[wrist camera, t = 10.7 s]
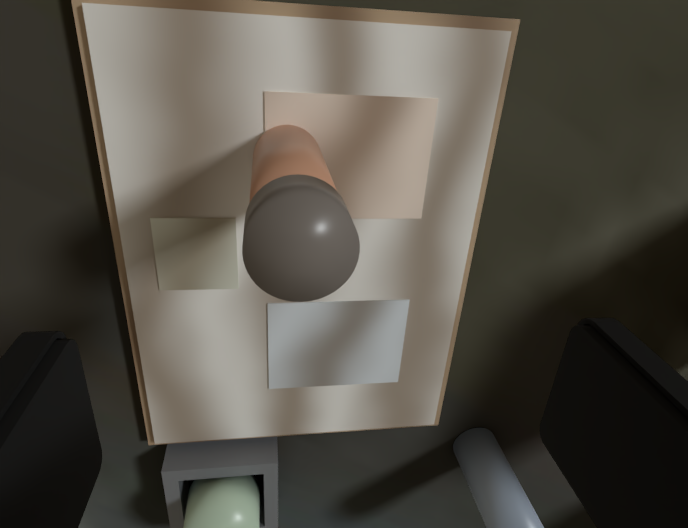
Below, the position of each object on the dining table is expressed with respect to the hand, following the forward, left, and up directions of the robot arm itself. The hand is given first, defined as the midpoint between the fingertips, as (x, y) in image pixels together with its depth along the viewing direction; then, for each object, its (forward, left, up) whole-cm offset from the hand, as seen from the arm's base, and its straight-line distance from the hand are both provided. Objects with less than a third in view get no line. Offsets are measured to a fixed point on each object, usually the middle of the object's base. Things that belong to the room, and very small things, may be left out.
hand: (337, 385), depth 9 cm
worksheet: (-1, +6, -17) cm, 18 cm away
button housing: (+4, +22, -17) cm, 28 cm away
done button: (+4, +22, -15) cm, 27 cm away
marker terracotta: (0, 0, -16) cm, 16 cm away
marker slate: (-14, +21, -17) cm, 30 cm away
